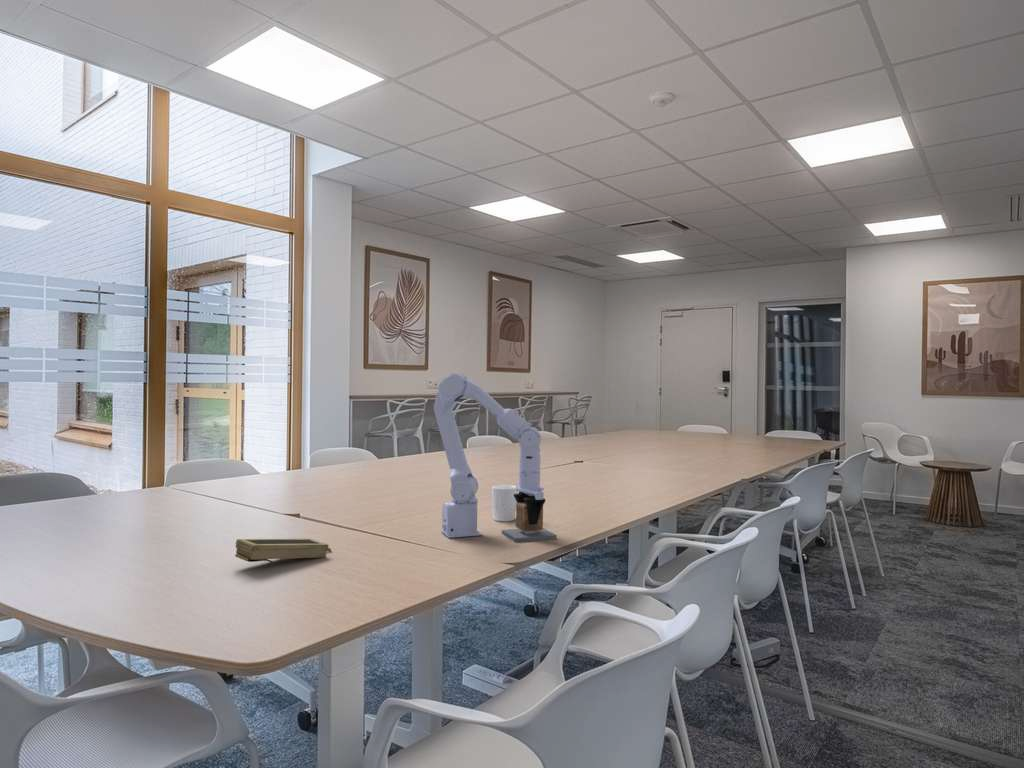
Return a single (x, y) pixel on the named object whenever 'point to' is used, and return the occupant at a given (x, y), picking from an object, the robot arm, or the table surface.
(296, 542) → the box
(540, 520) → the sliding lid crate
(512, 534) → the post base
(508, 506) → the white cup
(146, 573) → the table surface
